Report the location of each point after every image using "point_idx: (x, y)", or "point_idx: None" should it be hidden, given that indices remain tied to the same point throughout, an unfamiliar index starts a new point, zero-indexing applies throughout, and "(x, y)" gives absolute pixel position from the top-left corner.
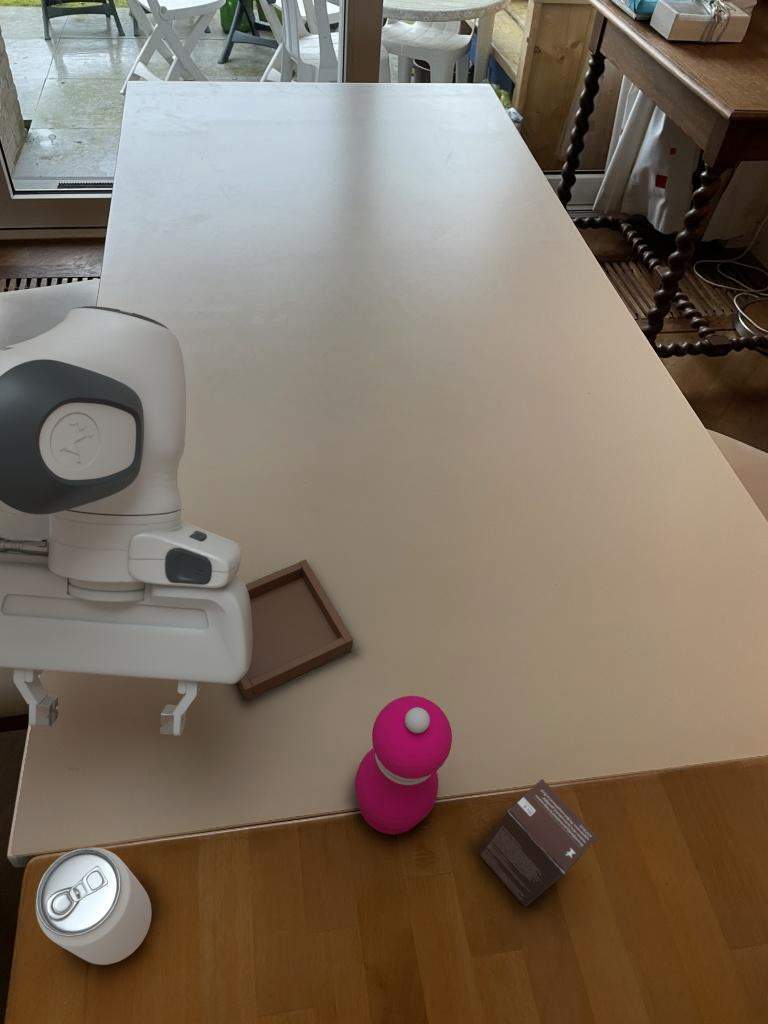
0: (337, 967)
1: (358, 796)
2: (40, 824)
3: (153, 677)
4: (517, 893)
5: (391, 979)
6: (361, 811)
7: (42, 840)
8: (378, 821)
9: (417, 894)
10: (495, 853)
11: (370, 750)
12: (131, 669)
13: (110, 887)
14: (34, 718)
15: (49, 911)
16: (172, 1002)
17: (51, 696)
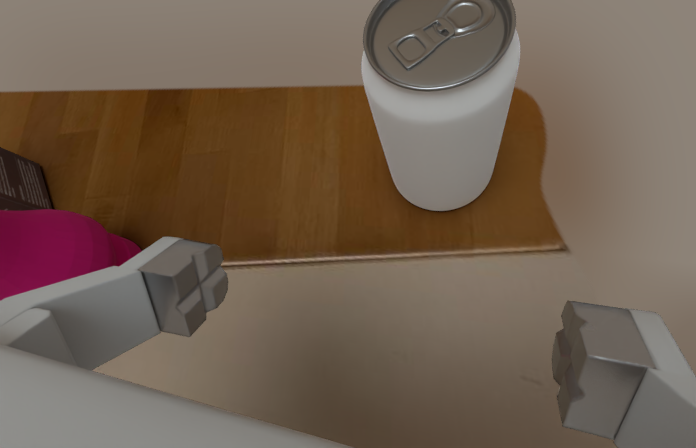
0: (210, 122)
1: (99, 251)
2: (566, 293)
3: (40, 358)
4: (29, 167)
5: (167, 113)
6: None
7: (557, 269)
8: (91, 220)
9: (122, 180)
10: (6, 186)
11: None
12: (88, 411)
13: (382, 40)
14: (641, 322)
15: (486, 5)
16: None
17: (593, 431)
